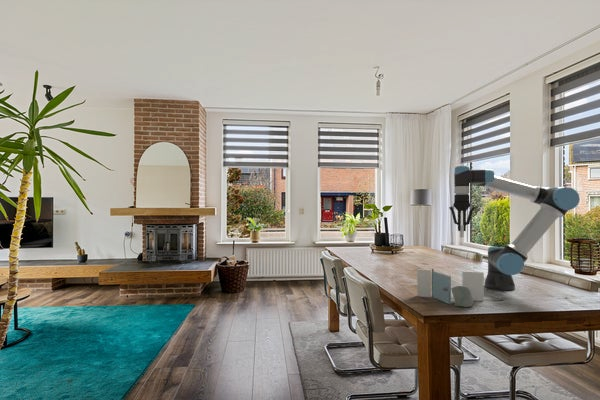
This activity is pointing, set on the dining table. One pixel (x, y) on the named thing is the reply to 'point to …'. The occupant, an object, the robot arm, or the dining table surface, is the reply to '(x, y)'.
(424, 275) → the wall
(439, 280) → the door
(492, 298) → the dining table surface
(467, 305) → the decorative stone
